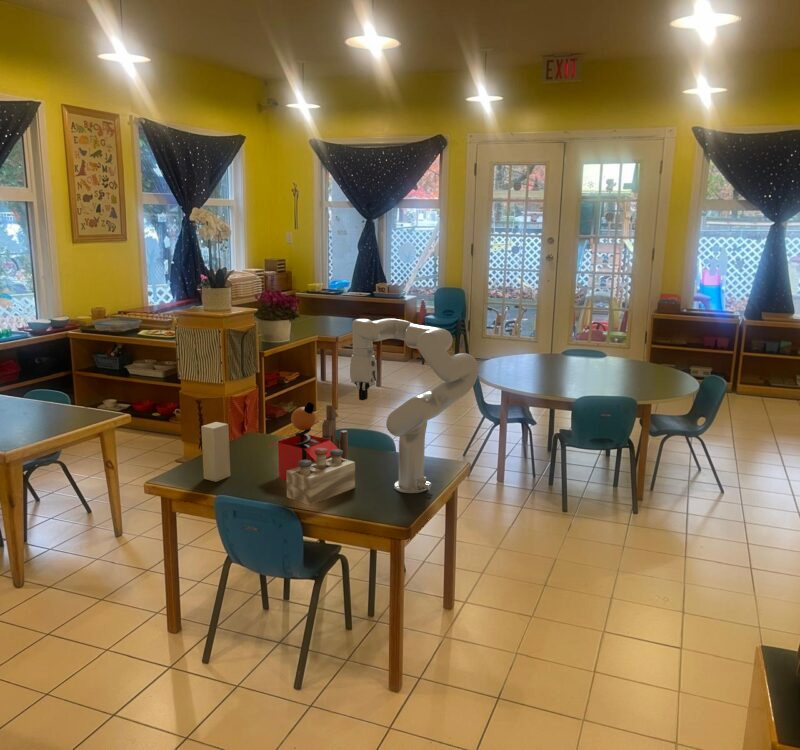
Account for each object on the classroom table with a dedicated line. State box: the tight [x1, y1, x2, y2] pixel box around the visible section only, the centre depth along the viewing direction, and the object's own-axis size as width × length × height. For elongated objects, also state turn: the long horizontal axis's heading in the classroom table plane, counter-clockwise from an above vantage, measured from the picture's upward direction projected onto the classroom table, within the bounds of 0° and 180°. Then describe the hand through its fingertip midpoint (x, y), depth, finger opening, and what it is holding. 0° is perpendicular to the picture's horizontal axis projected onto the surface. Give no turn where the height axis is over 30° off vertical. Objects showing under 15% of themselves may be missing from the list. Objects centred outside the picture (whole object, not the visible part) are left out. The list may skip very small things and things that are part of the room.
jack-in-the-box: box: [266, 401, 338, 482], centre depth 282 cm, size 26×16×30 cm, turn 55°
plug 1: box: [298, 460, 312, 476], centre depth 261 cm, size 5×5×9 cm
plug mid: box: [315, 448, 327, 470], centre depth 266 cm, size 5×5×9 cm
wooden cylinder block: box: [286, 456, 356, 506], centre depth 268 cm, size 12×23×10 cm, turn 141°
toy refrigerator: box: [200, 421, 231, 482], centre depth 281 cm, size 8×7×21 cm
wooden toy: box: [320, 404, 349, 460], centre depth 296 cm, size 16×7×25 cm, turn 160°
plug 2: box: [330, 449, 343, 464], centre depth 273 cm, size 5×5×9 cm
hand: (363, 399), depth 279 cm, fingers closed
